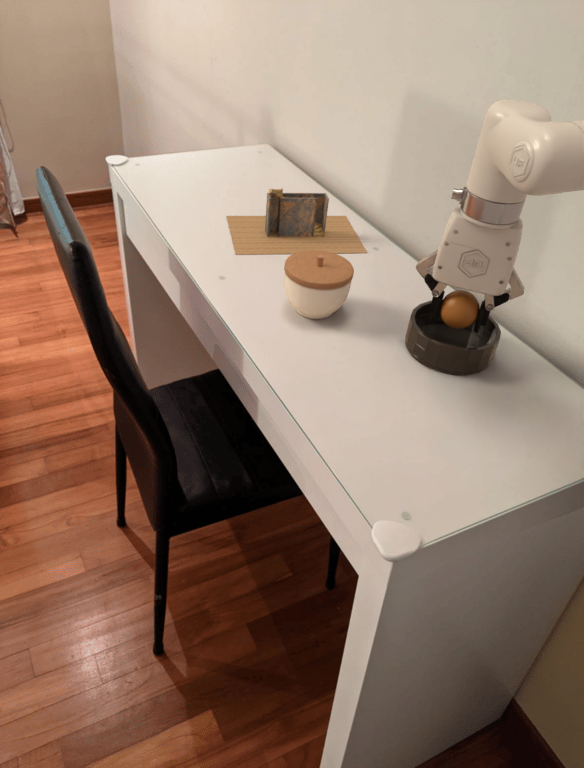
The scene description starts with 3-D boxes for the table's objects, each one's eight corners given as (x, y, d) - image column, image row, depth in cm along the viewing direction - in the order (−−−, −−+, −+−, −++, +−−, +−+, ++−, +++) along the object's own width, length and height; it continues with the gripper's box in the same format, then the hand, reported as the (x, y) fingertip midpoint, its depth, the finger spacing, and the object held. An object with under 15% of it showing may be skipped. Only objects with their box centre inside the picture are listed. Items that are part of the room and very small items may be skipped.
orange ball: (475, 320, 92) (486, 288, 88) (471, 340, 88) (482, 307, 84) (439, 311, 93) (448, 279, 90) (432, 330, 89) (442, 297, 85)
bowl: (495, 337, 97) (504, 313, 94) (487, 385, 87) (496, 360, 84) (414, 315, 99) (420, 292, 97) (396, 360, 90) (402, 335, 87)
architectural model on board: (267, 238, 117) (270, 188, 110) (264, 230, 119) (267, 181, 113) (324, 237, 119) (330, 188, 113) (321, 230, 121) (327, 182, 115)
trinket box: (359, 307, 100) (368, 255, 94) (324, 335, 93) (332, 281, 87) (304, 284, 104) (310, 233, 98) (267, 310, 97) (271, 256, 91)
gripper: (420, 201, 78) (393, 320, 89) (559, 232, 74) (512, 351, 86) (430, 182, 83) (404, 296, 95) (560, 209, 80) (516, 324, 91)
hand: (455, 321), depth 90 cm, fingers closed on orange ball, 5 cm apart
